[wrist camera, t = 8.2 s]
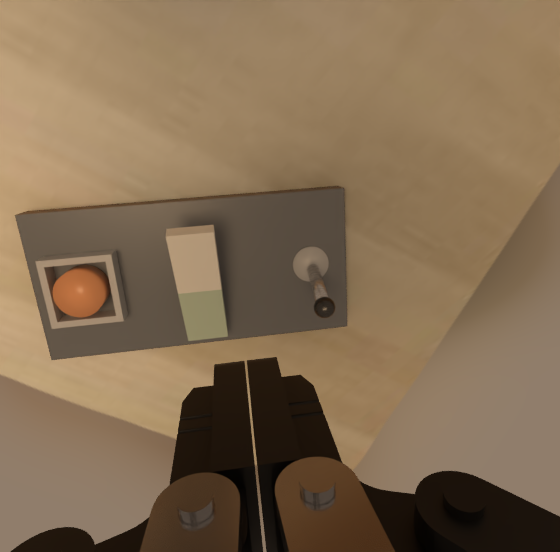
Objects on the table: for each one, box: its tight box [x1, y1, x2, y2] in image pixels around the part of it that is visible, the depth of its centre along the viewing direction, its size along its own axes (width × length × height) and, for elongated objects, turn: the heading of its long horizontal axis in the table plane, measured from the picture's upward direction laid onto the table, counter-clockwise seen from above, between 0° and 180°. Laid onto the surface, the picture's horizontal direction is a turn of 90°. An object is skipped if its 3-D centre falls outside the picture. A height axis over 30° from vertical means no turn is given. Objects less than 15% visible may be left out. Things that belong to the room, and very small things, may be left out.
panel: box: [15, 186, 347, 360], centre depth 35 cm, size 12×25×4 cm, turn 94°
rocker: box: [166, 225, 228, 341], centre depth 32 cm, size 10×3×1 cm, turn 4°
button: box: [53, 265, 110, 317], centre depth 33 cm, size 4×4×2 cm
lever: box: [307, 263, 335, 318], centre depth 33 cm, size 2×2×6 cm
